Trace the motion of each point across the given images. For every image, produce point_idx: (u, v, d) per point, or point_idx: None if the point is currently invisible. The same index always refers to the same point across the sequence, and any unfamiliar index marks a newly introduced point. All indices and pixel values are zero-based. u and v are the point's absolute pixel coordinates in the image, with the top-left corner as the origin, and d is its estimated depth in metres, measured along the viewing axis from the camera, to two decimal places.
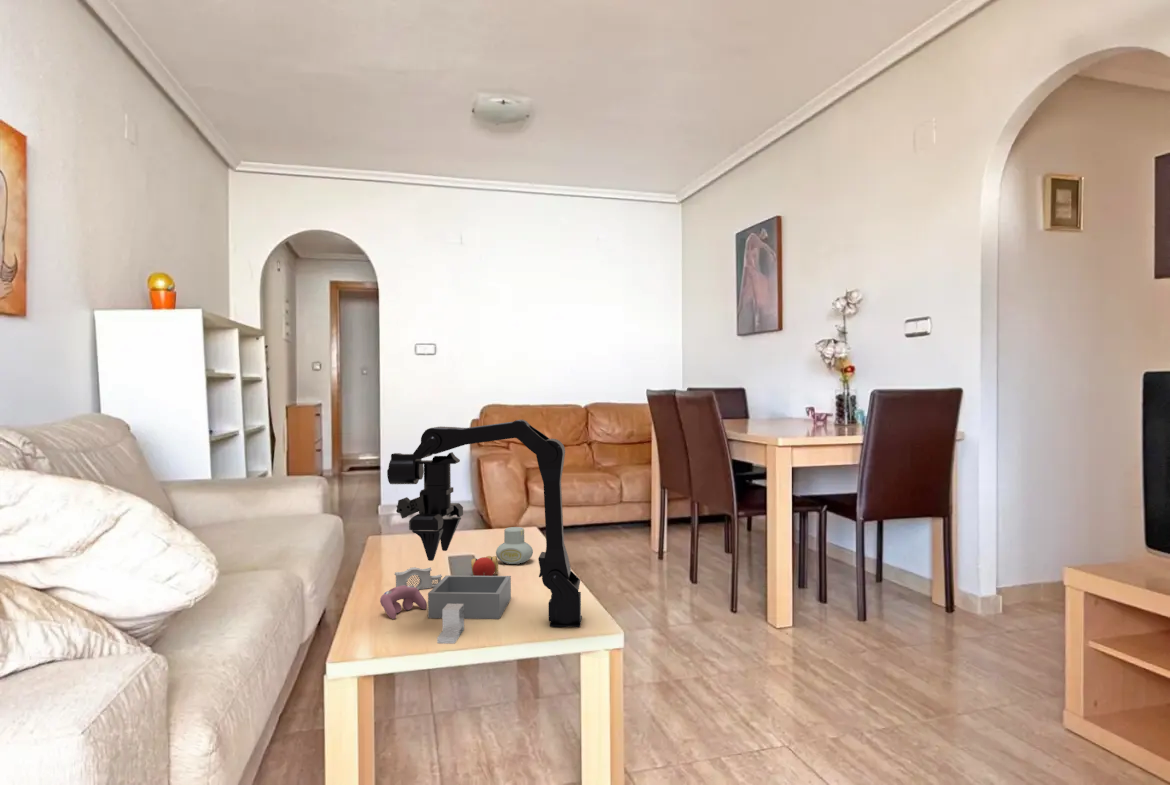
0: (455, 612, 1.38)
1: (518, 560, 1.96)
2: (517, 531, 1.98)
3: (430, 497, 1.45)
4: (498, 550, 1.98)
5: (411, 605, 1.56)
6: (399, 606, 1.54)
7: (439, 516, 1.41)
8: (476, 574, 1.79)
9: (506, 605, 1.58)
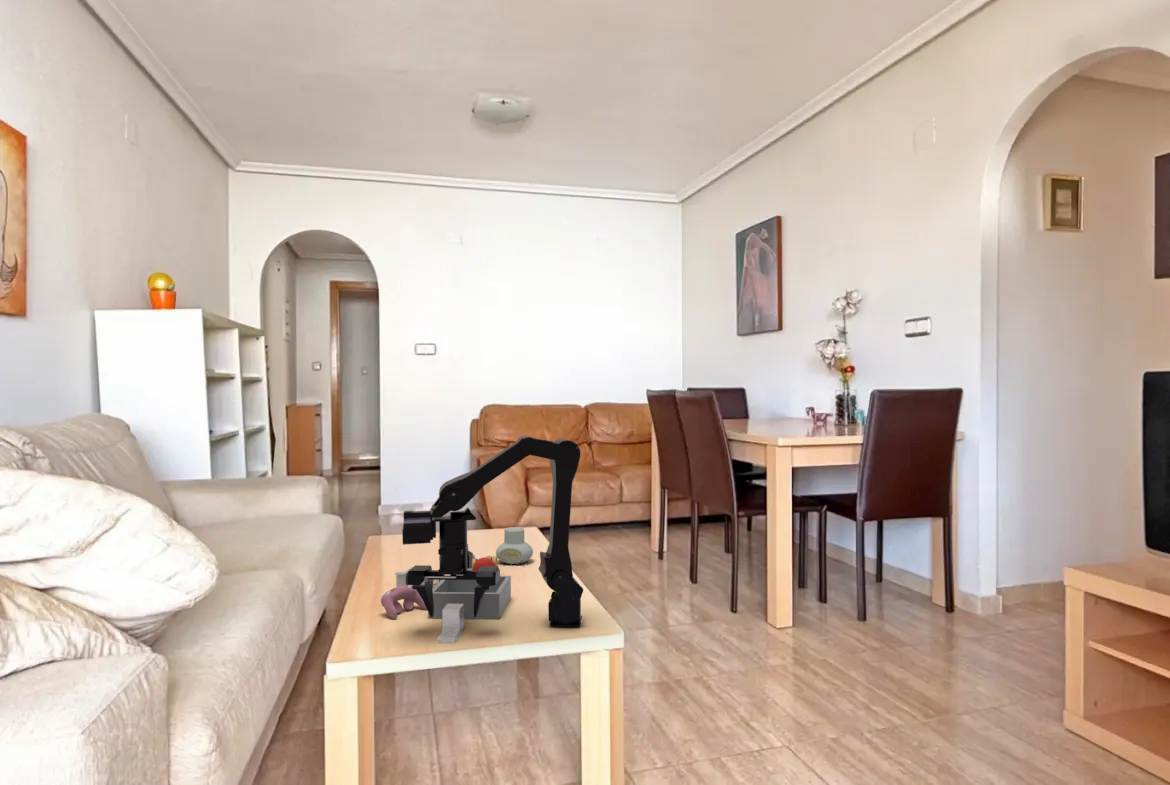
0: (455, 612, 1.38)
1: (518, 560, 1.96)
2: (517, 531, 1.98)
3: None
4: (498, 550, 1.98)
5: (412, 605, 1.56)
6: (400, 606, 1.54)
7: (419, 573, 1.38)
8: None
9: (506, 605, 1.58)
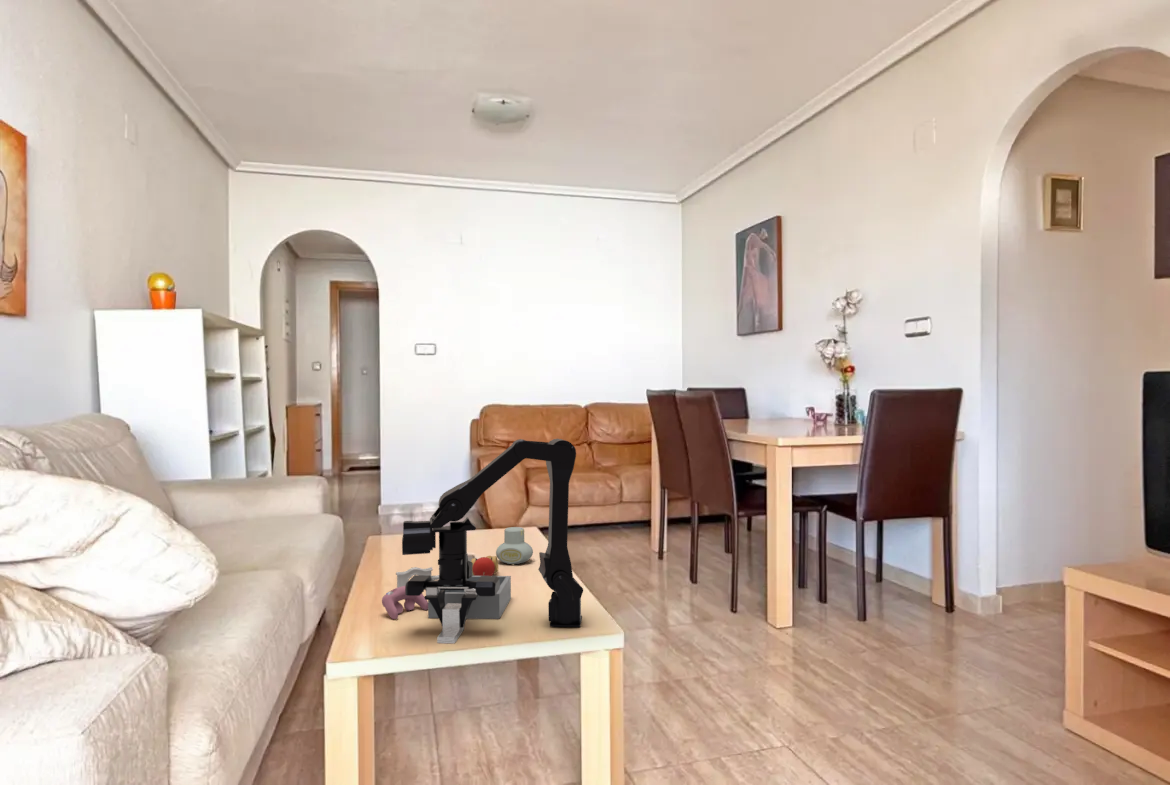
0: (455, 611, 1.38)
1: (518, 560, 1.96)
2: (517, 531, 1.98)
3: None
4: (498, 550, 1.98)
5: (413, 606, 1.56)
6: (401, 607, 1.53)
7: (419, 583, 1.38)
8: (476, 574, 1.80)
9: (506, 605, 1.58)
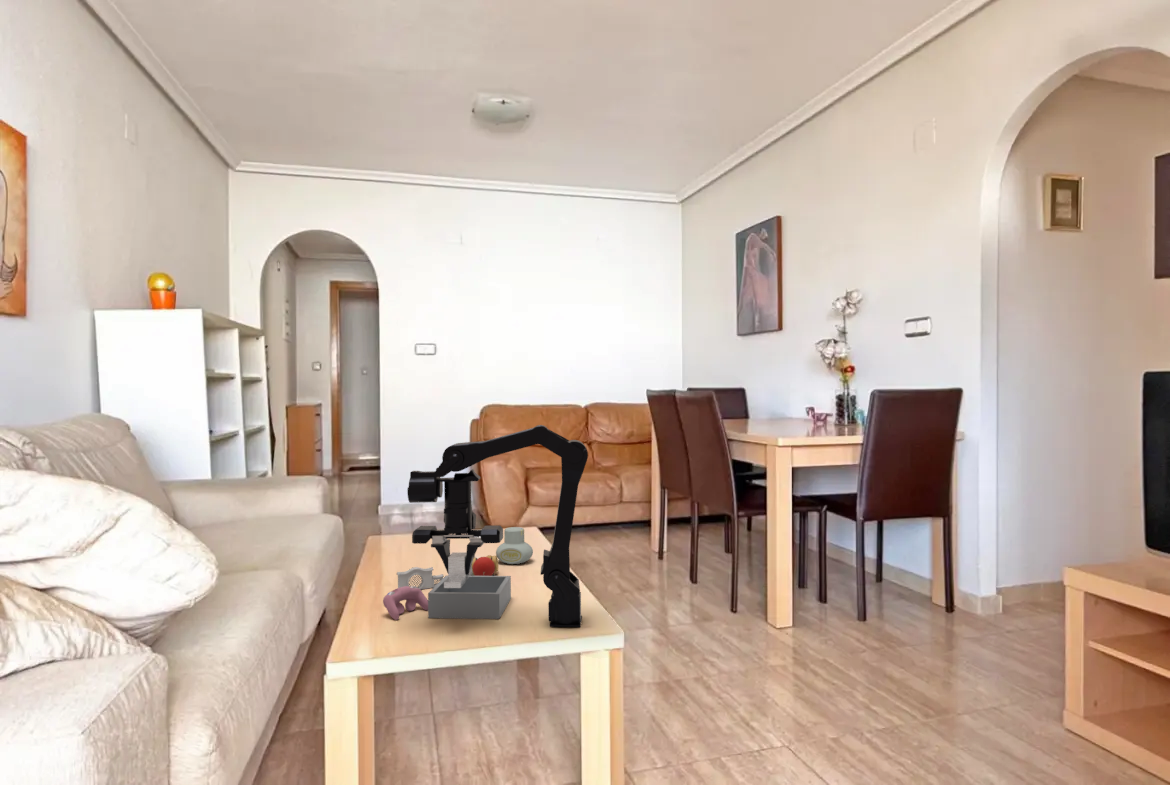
0: (461, 559, 1.43)
1: (518, 560, 1.96)
2: (517, 531, 1.98)
3: None
4: (498, 550, 1.98)
5: (414, 606, 1.55)
6: (402, 607, 1.53)
7: (426, 531, 1.43)
8: (476, 573, 1.80)
9: (506, 605, 1.58)
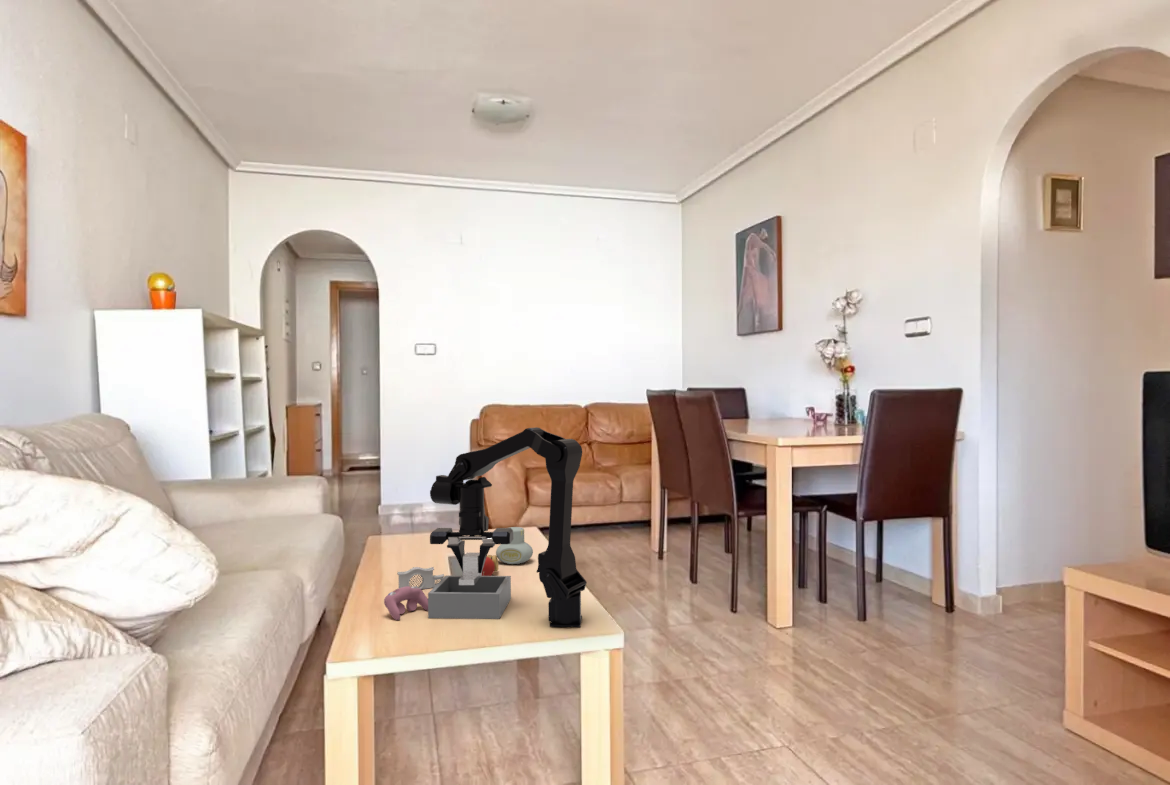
0: (474, 558, 1.56)
1: (518, 560, 1.96)
2: (517, 531, 1.98)
3: None
4: (498, 550, 1.98)
5: (415, 606, 1.55)
6: (403, 607, 1.53)
7: (442, 533, 1.56)
8: None
9: (506, 605, 1.58)
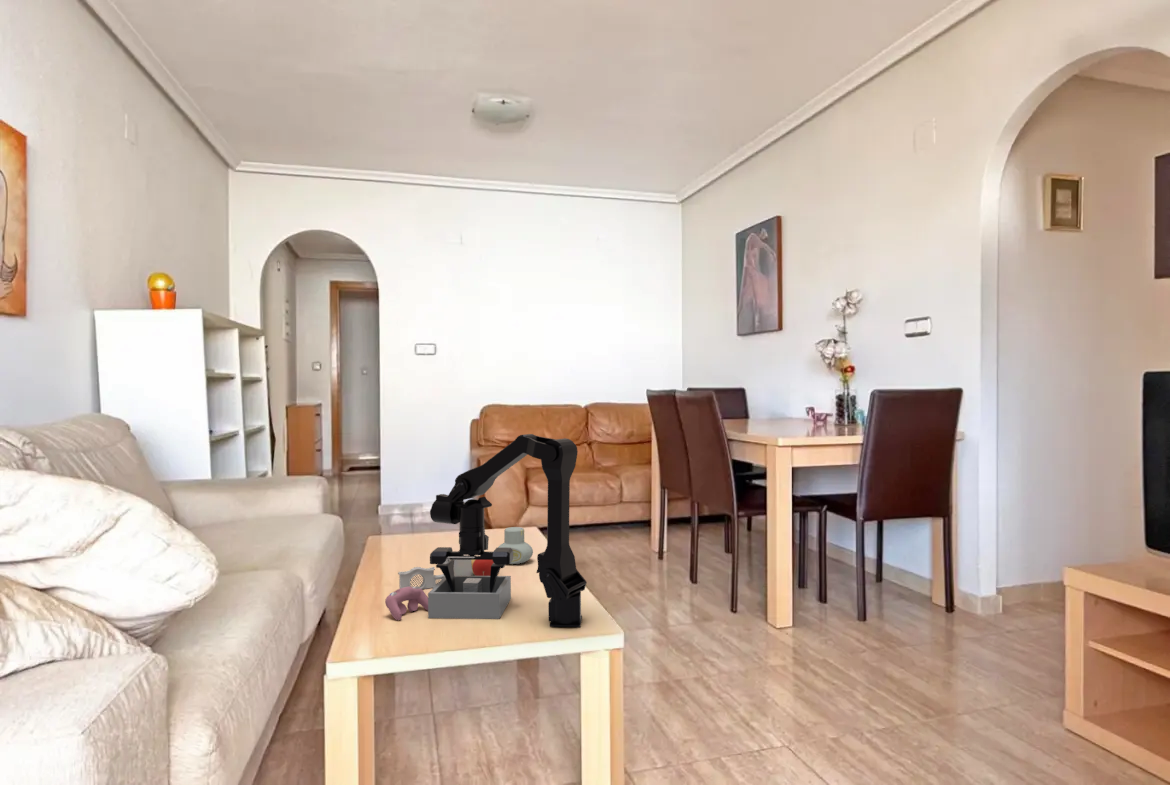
0: (474, 584, 1.56)
1: (518, 560, 1.96)
2: (517, 531, 1.98)
3: None
4: None
5: (416, 606, 1.55)
6: (404, 607, 1.53)
7: (442, 553, 1.56)
8: (476, 573, 1.81)
9: (506, 605, 1.58)
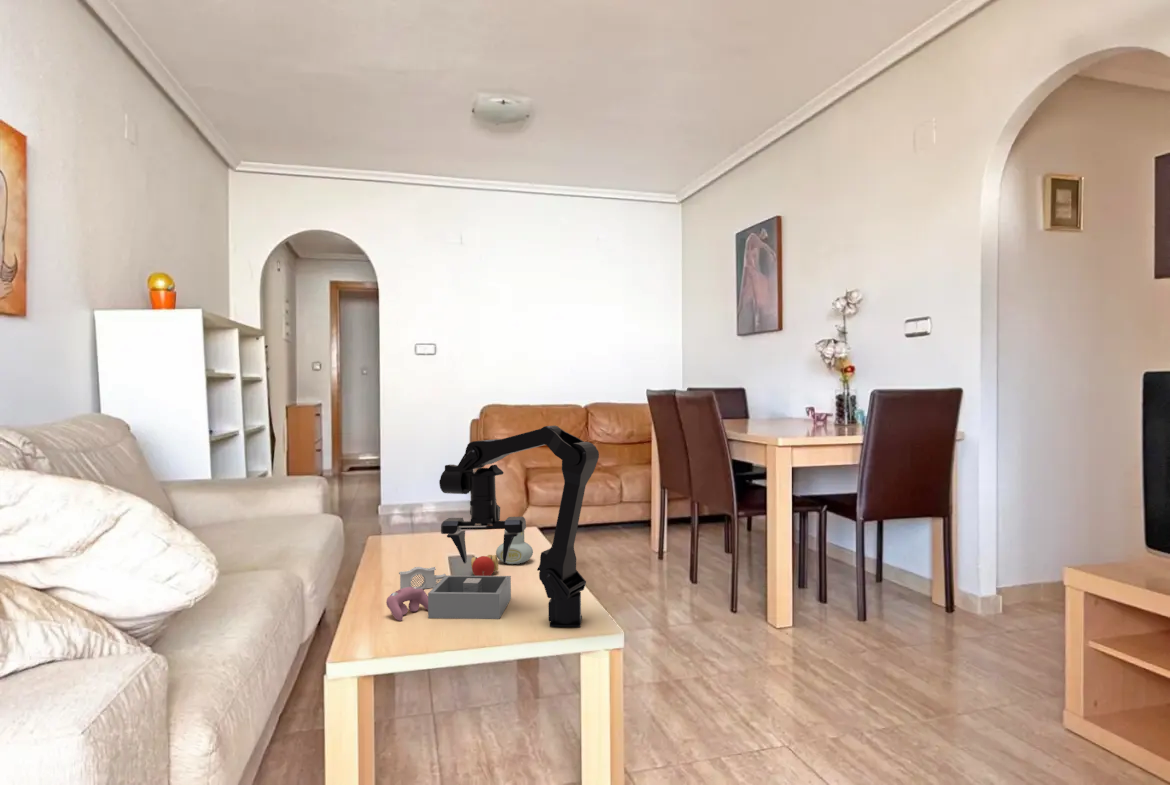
0: (474, 584, 1.56)
1: (518, 560, 1.96)
2: None
3: None
4: (498, 550, 1.98)
5: (417, 607, 1.55)
6: (405, 608, 1.52)
7: (453, 523, 1.53)
8: (475, 573, 1.81)
9: (506, 605, 1.58)
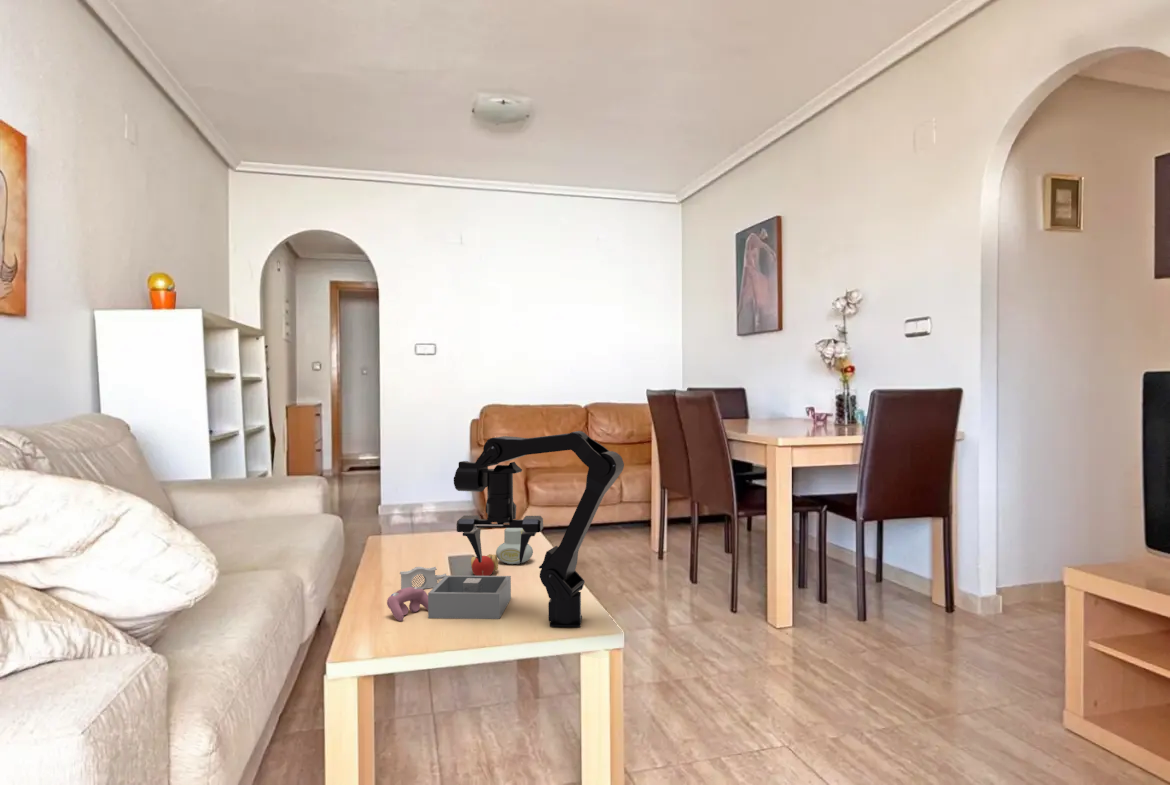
0: (474, 584, 1.56)
1: (518, 560, 1.96)
2: (517, 531, 1.98)
3: None
4: (498, 550, 1.98)
5: (418, 607, 1.54)
6: (406, 608, 1.52)
7: (469, 521, 1.49)
8: (475, 572, 1.81)
9: (506, 605, 1.58)
